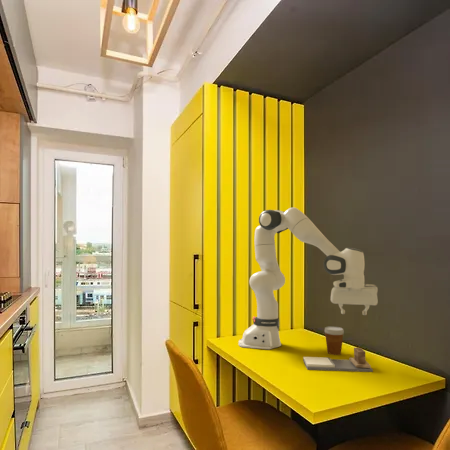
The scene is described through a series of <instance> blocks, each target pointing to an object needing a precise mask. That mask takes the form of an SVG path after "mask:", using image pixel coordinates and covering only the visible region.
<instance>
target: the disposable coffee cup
mask: <svg viewBox="0 0 450 450" xmlns="http://www.w3.org/2000/svg"><path fill="white" fill-rule="evenodd" d="M344 333H345V330H344V328H342V327H339V326H326V327H324V335H325V343H326V344H325V345H326V350H327V354H329V355H332V356H340V355H341V354H342V346H343V339H344Z"/></svg>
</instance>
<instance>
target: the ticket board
mask: <svg viewBox="0 0 450 450" xmlns="http://www.w3.org/2000/svg"><path fill="white" fill-rule="evenodd" d="M302 358H303V359H302V361H303V363H304V366H305V368H306V369H307V371H308V370H310V371H311V370H312V371H333V372H334V371H336V372H338V371H339V372H362V373H364V372H366V373H369V372H370V373H373V371H374V370H373V368H372V367H371V368H359V367H355V366H354V364H353V363H352V362H351V361H350V359H334V358H333V359H332V358H330V357H320V356H319V357H318V356H303V357H302Z"/></svg>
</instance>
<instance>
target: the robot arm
mask: <svg viewBox="0 0 450 450" xmlns="http://www.w3.org/2000/svg"><path fill="white" fill-rule="evenodd" d="M258 223H259V225H258V226H257V227H256V228H255V230H254V238H253V239H254V240H253V241H254V253H255V254H254V255H255V261H256V262H257V263H258V265H259V268H260V270H261V271H257V272H255V273H253V274H252V275H251V276H250V277H249V282H248V283H249V287H250V288H251V290H252V291H253V293H254V295H255V298H256V306H257V307H256V315H257V316H254V315H253V317H252V321H253V324H251V326H249V327H248V328H246V329H245V330H244V332H243V334H242V338H241V339H239V340H238V346H239V347H240V348H246V349H248V348H249V349H250V348H251V349H258V350H259V349H260V350H261V349H262V350H272V349H275V348H278V347H281V346H282V343H281V340H280V339H281V338H280V332H279V331H280V330H279V328H280V318H279V303H278V301H277V300H276V297H275V294H274V291H277V290H280V289H281V288H282V287H283V286H284V285H285V284H286V277H285V275H284V274H283V273H282V271H281V268H280V266H279V264H278V259H277V251H276V242H275V236H276V234H280V233H282V232H285V231H287V230H289V231H290V232H291V233H292V235H293V236H294V237H296V239H298V240H299V241H300V242H302V243H305V244H307V245H312V246H314V247H317V249H319V250H320V251H321V252H322V253H323V254H324V255H326V256H325V258H324V260H323V264H322V265H323V266H322V267H323V270H324V271H325V272H326V273H328V274H329V275H331V276H332V275H333V276H337V275H338V276H339V275H343V278H342V279H339V280H335V281H333V282H332V284H333V287H332V288H331V291H330V302H331V303H332V304H334V305H338V307H339V309H340V314H342V315H346V310H345V309H344V308H343V306H344V305H353V306H354V305H357V306H358V305H361V306H364V309H363V310H362V311H361V312H362V314H361V315H363V316H367V313H368V310H369V309H370V306H377V305H378V303H379V301H378V298H379V297H378V291H379V289H378V286H377V285H376V284H373V283H372V284H371V283H370V284H369V283H365V275H364V274H365V273H364V272H365V269H366V268H365V267H366V266H365V263H366V262H365V254H364V251H363V250H361V249H359V248H354V247H345V248H344V249H343V250H342V251H341V250H340V249H339V248H338V247H336V246H335V245H334V244H333V242H331V240H330V239H328V238H327V236H325V235H324V234H323V233H322V231H320V229H319V228H318V227H317V226H316V224H314V223H313V221H312V220H311V219H310V218H309V217H308V216H307V215H306V214H305V213H304V212H302V210H299V208H297V207H289V208H288V209H286V210H285V211H282V210H279V209H267V210H264V211H262V212H261V213H260V214H259V216H258Z"/></svg>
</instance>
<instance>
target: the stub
mask: <svg viewBox="0 0 450 450" xmlns="http://www.w3.org/2000/svg"><path fill="white" fill-rule="evenodd" d="M348 360H350V361H351V362H352V363H353V364H354V366H355V367H359V368H372V367H371V366H372V365H371V364H370V363H369V362H368V361H366V351H365V350H364V349H363V348H362V347H354V348H353V357H349V359H348Z"/></svg>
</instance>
